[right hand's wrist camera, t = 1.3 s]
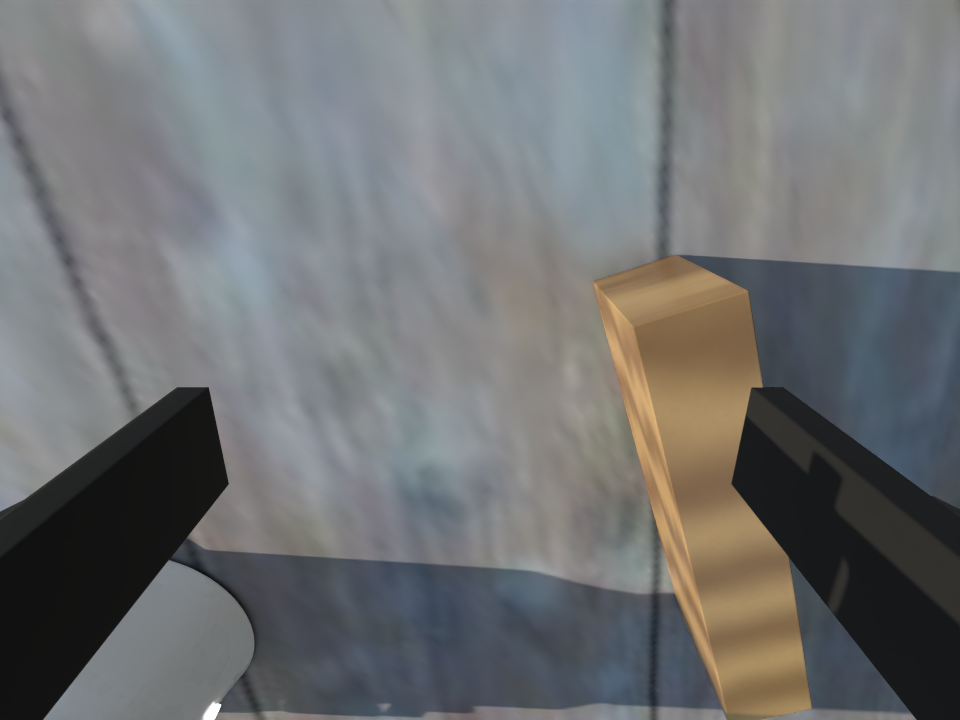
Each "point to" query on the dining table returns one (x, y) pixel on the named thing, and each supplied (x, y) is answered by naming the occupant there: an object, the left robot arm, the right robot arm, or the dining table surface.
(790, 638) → the bar
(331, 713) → the dining table surface
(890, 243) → the dining table surface
